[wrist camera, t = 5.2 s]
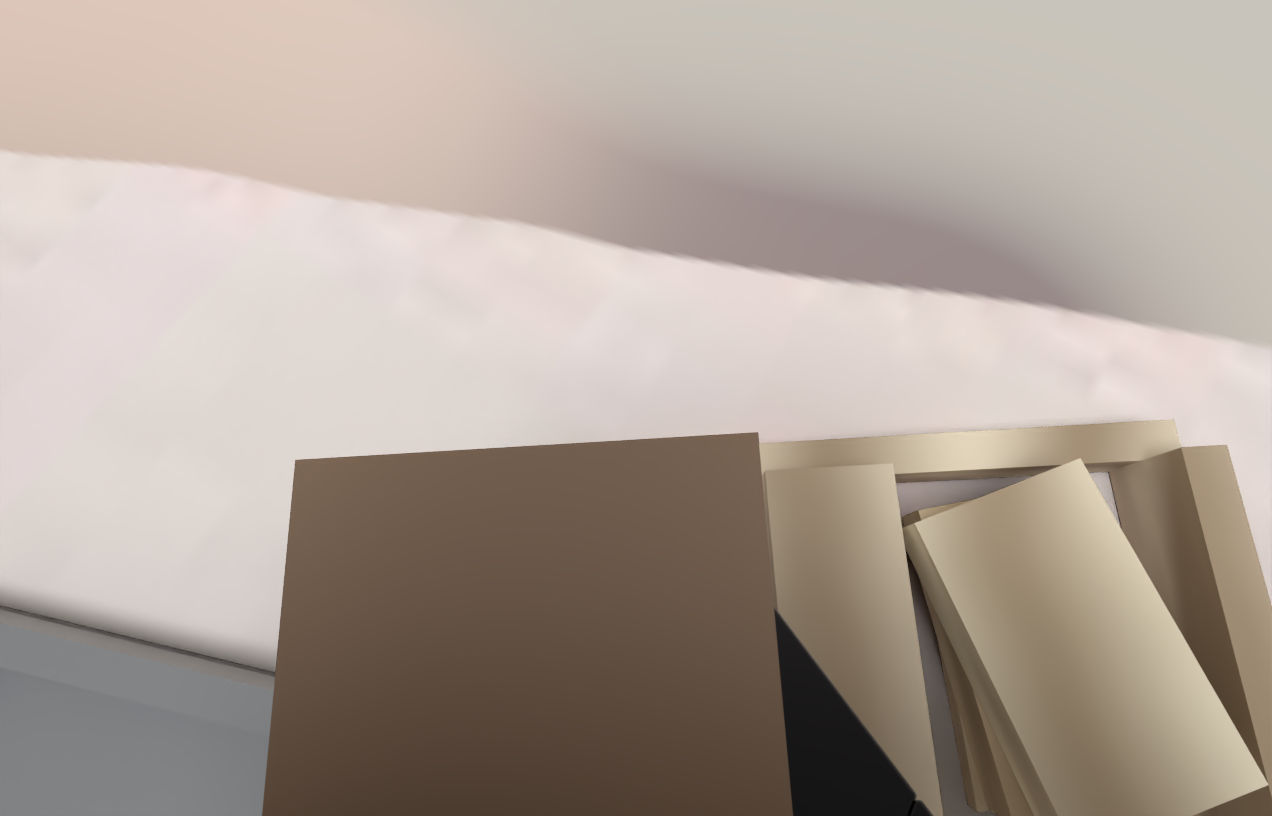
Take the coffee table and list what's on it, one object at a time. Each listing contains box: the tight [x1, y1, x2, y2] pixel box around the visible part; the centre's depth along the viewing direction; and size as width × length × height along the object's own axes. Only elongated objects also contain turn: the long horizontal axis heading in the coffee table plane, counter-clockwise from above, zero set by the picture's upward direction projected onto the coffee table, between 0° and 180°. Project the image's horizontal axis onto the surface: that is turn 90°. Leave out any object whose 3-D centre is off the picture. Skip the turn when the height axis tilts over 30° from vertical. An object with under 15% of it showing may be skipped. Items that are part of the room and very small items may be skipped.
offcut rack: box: [759, 419, 1272, 816], centre depth 17 cm, size 16×11×3 cm
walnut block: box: [262, 432, 793, 816], centre depth 9 cm, size 2×4×13 cm, turn 2°
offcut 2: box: [902, 458, 1269, 816], centre depth 16 cm, size 4×7×2 cm, turn 21°
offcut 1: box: [901, 499, 1034, 816], centre depth 17 cm, size 4×7×2 cm, turn 11°
